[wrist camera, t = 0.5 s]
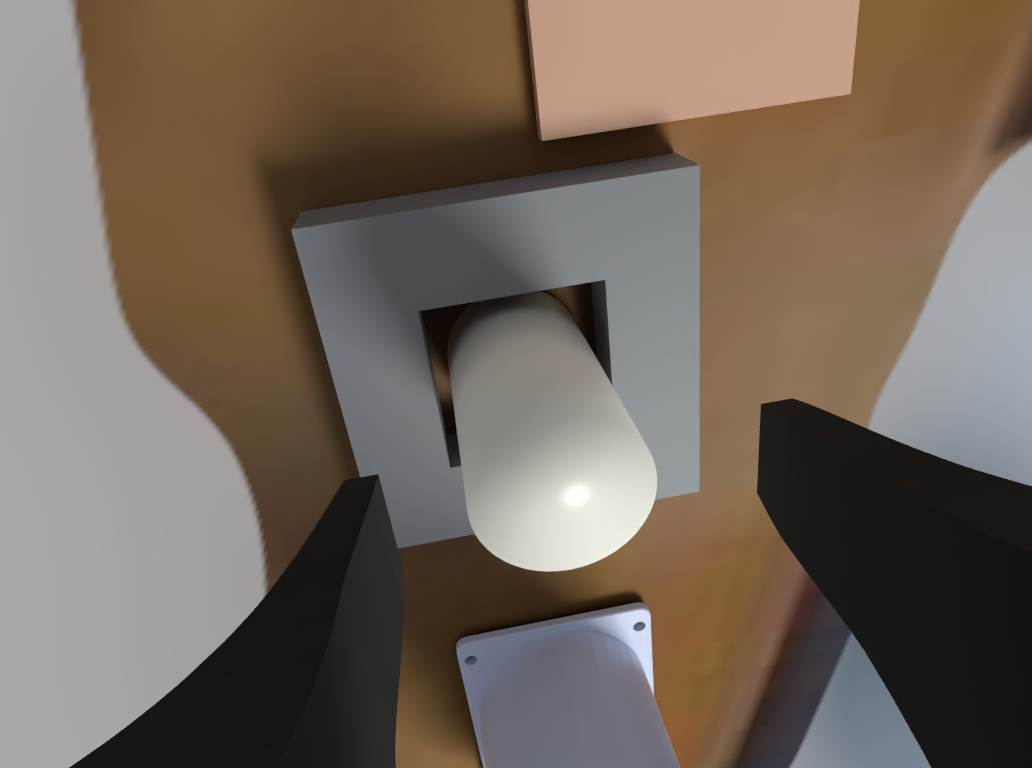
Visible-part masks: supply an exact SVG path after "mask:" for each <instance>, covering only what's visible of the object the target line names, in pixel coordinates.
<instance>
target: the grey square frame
mask: <svg viewBox="0 0 1032 768" xmlns="http://www.w3.org/2000/svg"><path fill="white" fill-rule="evenodd" d="M291 231H292V235H293V238H294V242H295V246H296V249H297V253H298V256H299V260H300V263H301V267H302V271H303V274H304V278H305V281H306V285H307V289H308V292H309V296H310V299H311V303H312V306H313V310H314V314H315V317H316V321H317V324H318V328H319V331H320V335H321V339H322V342H323V346H324V349H325V353H326V356H327V360H328V364H329V367H330V371H331V374H332V378H333V382H334V385H335V389H336V392H337V396H338V399H339V403H340V407H341V410H342V414H343V417H344V421H345V424H346V428H347V432H348V435H349V439H350V442H351V446H352V449H353V453H354V457H355V460H356V464H357V467H358V471H359V475H360V477H365V476H371V475H376V474H378V475H379V479H380V482H381V486H382V490H383V494H384V498H385V501H386V505H387V509H388V513H389V517H390V521H391V524H392V528H393V532H394V536H395V540H396V543H397V547H398V549H399V548H404V547H410V546H415V545H420V544H425V543H431V542H436V541H441V540H446V539H452V538H457V537H462V536H467V535H473V534H475V533H474V531H473V529H472V527H471V525H470V521H469V518H468V513H467V506H466V498H465V490H464V482H463V475H462V467H461V459H460V452H459V444H458V436H457V434H452V435H447V434H446V429H445V424H444V419H443V414H442V409H441V404H440V399H439V394H438V389H437V384H436V379H435V374H434V369H433V364H432V359H431V354H430V349H429V344H428V339H427V334H426V329H425V324H424V319H423V314H422V311H423V310H428V309H434V308H440V307H446V306H452V305H458V304H464V303H470V302H476V301H482V300H488V299H494V298H500V297H506V296H512V295H518V294H524V293H530V292H536V291H542V290H548V289H554V288H560V287H566V286H572V285H578V284H583V283H589V282H591V290H592V303H593V316H594V330H595V343H596V356H597V360H598V362H599V363H600V365H601V367H602V369H603V370H604V372H605V374H606V376H607V377H608V379H609V381H610V383H611V384H612V386H613V388H614V390H615V391H616V393H617V395H618V397H619V398H620V400H621V402H622V404H623V405H624V407H625V409H626V411H627V412H628V414H629V416H630V417H631V419H632V421H633V423H634V424H635V426H636V428H637V430H638V431H639V433H640V435H641V437H642V438H643V440H644V442H645V444H646V445H647V447H648V449H649V451H650V453H651V455H652V457H653V459H654V463H655V467H656V472H657V491H656V496H655V500H656V499H662V498H667V497H672V496H677V495H683V494H688V493H693V492H699V393H700V165H699V164H697V163H695V162H693V161H690V160H688V159H686V158H684V157H682V156H680V155H678V154H676V153H671V154H664V155H658V156H652V157H645V158H639V159H632V160H626V161H620V162H613V163H607V164H600V165H594V166H588V167H581V168H575V169H569V170H562V171H556V172H549V173H543V174H537V175H530V176H524V177H517V178H511V179H505V180H498V181H492V182H485V183H479V184H473V185H466V186H460V187H453V188H447V189H441V190H434V191H428V192H421V193H415V194H409V195H402V196H396V197H389V198H383V199H377V200H370V201H364V202H357V203H351V204H345V205H338V206H332V207H325V208H319V209H313V210H306V211H301V212H300V214H299V216H298V218H297V220H296V221H295V223H294V225H293V227H292V229H291Z"/></svg>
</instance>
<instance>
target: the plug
mask: <svg viewBox="0 0 1032 768" xmlns="http://www.w3.org/2000/svg"><path fill="white" fill-rule="evenodd" d="M447 358H448V366H449V374H450V382H451V390H452V397H453V405H454V413H455V421H456V428H457V436H458V444H459V452H460V459H461V467H462V475H463V482H464V490H465V498H466V506H467V513H468V518H469V521H470V525H471V527H472V529H473V531H474V533H475V535H476V536H477V538H478V539H479V541H480V542H481V543H482V544H483V545H484V546H485V547H486V548H487V550H489V551H490V552H491V553H492V554H494V555H495V556H496V557H498V558H500V559H502V560H503V561H505V562H507V563H510V564H512V565H514V566H517V567H521V568H524V569H529V570H535V571H563V570H570V569H575V568H579V567H583V566H586V565H589V564H591V563H594V562H596V561H599V560H601V559H603V558H605V557H607V556H608V555H610V554H612V553H613V552H615V551H616V550H618V549H619V548H620V547H622V546H623V545H624V544H626V543H627V542H628V541H629V540H630V539H631V538H632V537H633V536H634V535H635V534H636V532H637V531H638V530H639V529H640V528H641V526H642V525H643V523H644V522H645V520H646V519H647V517H648V515H649V513H650V511H651V509H652V506H653V503H654V500H655V496H656V491H657V472H656V467H655V463H654V459H653V457H652V455H651V453H650V451H649V449H648V447H647V445H646V444H645V442H644V440H643V438H642V437H641V435H640V433H639V431H638V430H637V428H636V426H635V424H634V423H633V421H632V419H631V417H630V416H629V414H628V412H627V411H626V409H625V407H624V405H623V404H622V402H621V400H620V398H619V397H618V395H617V393H616V391H615V390H614V388H613V386H612V384H611V383H610V381H609V379H608V377H607V376H606V374H605V372H604V370H603V369H602V367H601V365H600V363H599V362H598V360H597V358H596V356H595V355H594V353H593V351H592V349H591V348H590V346H589V344H588V342H587V341H586V339H585V337H584V335H583V334H582V332H581V330H580V328H579V327H578V325H577V323H576V321H575V320H574V318H573V316H572V315H571V313H570V312H569V310H568V309H567V308H566V307H565V306H564V305H563V304H562V303H561V302H560V301H558V300H557V299H556V298H554V297H553V296H551V295H549V294H547V293H545V292H542V291H536V292H530V293H524V294H518V295H512V296H506V297H500V298H494V299H488V300H482V301H476V302H473V303H471V304H470V305H469V306H468V307H467V308H466V309H465V310H464V311H463V312H462V313H461V315H460V316H459V317H458V319H457V320H456V322H455V324H454V326H453V328H452V330H451V333H450V336H449V340H448V345H447Z"/></svg>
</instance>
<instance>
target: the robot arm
mask: <svg viewBox="0 0 1032 768" xmlns="http://www.w3.org/2000/svg"><path fill="white" fill-rule="evenodd" d="M757 493H758V495H759V497H760V499H761V501H762V503H763V505H764V507H765V509H766V511H767V513H768V515H769V516H770V518H771V520H772V522H773V524H774V525H775V527H776V529H777V531H778V532H779V534H780V536H781V537H782V539H783V540H784V542H785V543H786V544H787V546H788V547H789V549H790V550H791V551H792V553H793V554H794V555H795V557H796V558H797V559H798V561H799V562H800V564H801V565H802V566H803V568H804V569H805V570H806V572H807V573H808V574H809V576H810V577H811V578H812V580H813V581H814V582H815V584H816V585H817V586H818V588H819V589H820V590H821V592H822V593H823V594H824V596H825V597H826V598H827V600H828V601H829V602H830V604H831V605H832V606H833V608H834V609H835V610H836V612H837V613H838V614H839V616H840V617H841V618H842V620H843V621H844V622H845V624H846V625H847V626H848V628H849V629H850V630H851V632H852V633H853V635H854V636H855V638H856V639H857V640H858V642H859V643H860V645H861V646H862V648H863V649H864V651H865V652H866V654H867V656H868V657H869V659H870V661H871V662H872V664H873V666H874V667H875V669H876V670H877V672H878V674H879V676H880V677H881V679H882V681H883V682H884V684H885V686H886V687H887V689H888V691H889V692H890V694H891V696H892V698H893V699H894V701H895V703H896V705H897V706H898V708H899V710H900V712H901V713H902V715H903V717H904V719H905V721H906V722H907V724H908V726H909V728H910V729H911V731H912V733H913V735H914V737H915V738H916V740H917V742H918V744H919V745H920V747H921V749H922V751H923V753H924V755H925V756H926V758H927V760H928V762H929V764H930V766H931V768H1032V486H1029V485H1025V484H1021V483H1018V482H1014V481H1011V480H1008V479H1004V478H1001V477H997V476H994V475H991V474H987V473H984V472H980V471H977V470H974V469H971V468H968V467H965V466H962V465H959V464H956V463H953V462H951V461H948V460H945V459H942V458H939V457H937V456H934V455H931V454H929V453H926V452H923V451H920V450H918V449H915V448H912V447H910V446H908V445H905V444H903V443H900V442H898V441H895V440H893V439H890V438H888V437H886V436H883V435H881V434H878V433H876V432H873V431H871V430H869V429H867V428H864V427H862V426H860V425H857V424H855V423H853V422H850V421H848V420H846V419H843V418H841V417H839V416H836V415H834V414H832V413H829V412H827V411H824V410H822V409H820V408H817V407H815V406H812V405H810V404H807V403H804V402H802V401H799V400H796V399H787V400H781V401H776V402H770V403H765V404H761V417H760V439H759V462H758V484H757ZM403 615H404V604H403V584H402V568H401V559H400V555H399V551H398V547H397V543H396V540H395V536H394V532H393V528H392V524H391V521H390V517H389V513H388V509H387V505H386V501H385V498H384V494H383V490H382V486H381V482H380V479H379V475H378V474H376V475H371V476H365V477H360V478H355V479H349V480H345V481H344V482H343V483H342V485H341V486H340V487H339V489H338V491H337V492H336V494H335V496H334V497H333V499H332V501H331V502H330V504H329V505H328V507H327V509H326V510H325V512H324V514H323V515H322V517H321V518H320V520H319V522H318V523H317V525H316V526H315V528H314V529H313V531H312V532H311V534H310V535H309V537H308V538H307V540H306V541H305V543H304V544H303V546H302V547H301V549H300V550H299V552H298V553H297V555H296V556H295V558H294V559H293V560H292V562H291V563H290V565H289V566H288V567H287V569H286V570H285V571H284V573H283V574H282V575H281V576H280V578H279V579H278V580H277V582H276V583H275V584H274V586H273V587H272V588H271V590H270V591H269V592H268V594H267V595H266V596H265V597H264V599H263V600H262V601H261V602H260V603H259V605H258V606H257V607H256V608H255V609H254V611H253V612H252V613H251V614H250V615H249V616H248V617H247V618H246V619H245V620H244V621H243V623H242V624H241V625H240V626H239V627H238V628H237V629H236V630H235V631H234V632H233V633H232V634H231V635H230V637H228V639H226V640H225V642H224V643H222V644H221V645H220V647H218V648H217V649H216V650H215V651H214V652H213V653H212V654H211V655H210V656H209V657H208V658H207V659H205V661H203V662H202V663H201V664H200V665H199V666H198V667H197V668H196V669H195V670H194V671H193V672H192V673H191V674H190V675H188V676H187V677H186V678H185V679H184V680H183V681H182V682H181V683H180V684H179V685H177V686H176V687H175V688H174V689H173V690H172V691H170V692H169V693H168V694H167V695H166V696H164V697H163V698H162V699H161V700H160V701H158V702H157V703H156V704H155V705H154V706H152V707H151V708H150V709H149V710H147V711H146V712H145V713H143V714H142V715H141V716H140V717H138V718H137V719H136V720H135V721H133V722H132V723H131V724H130V725H128V726H127V727H126V728H124V729H123V730H122V731H120V732H119V733H118V734H116V735H115V736H114V737H112V738H111V739H110V740H108V741H107V742H106V743H104V744H103V745H101V746H100V747H98V748H97V749H95V750H94V751H93V752H91V753H90V754H88V755H87V756H85V757H84V758H82V759H81V760H80V761H78V762H77V763H75V764H74V765H73V766H71V767H70V768H396V765H395V736H396V715H397V701H398V687H399V673H400V660H401V646H402V631H403ZM638 622H640V623H638ZM636 623H638V624H636ZM456 652H457V657H458V662H459V666H460V670H461V674H462V679H463V683H464V687H465V691H466V696H467V700H468V704H469V709H470V713H471V717H472V721H473V726H474V730H475V734H476V739H477V743H478V747H479V751H480V756H481V760H482V764H483V768H680V766H679V763H678V760H677V758H676V755H675V752H674V750H673V747H672V744H671V741H670V739H669V736H668V733H667V731H666V728H665V725H664V722H663V720H662V717H661V714H660V712H659V709H658V706H657V704H656V701H655V698H654V685H653V662H652V639H651V616H650V612H649V609H648V607H647V605H645V604H644V603H641V602H640V603H632V604H627V605H622V606H617V607H612V608H607V609H602V610H597V611H592V612H587V613H582V614H577V615H572V616H567V617H562V618H557V619H552V620H547V621H542V622H537V623H532V624H527V625H522V626H517V627H512V628H507V629H502V630H497V631H492V632H487V633H482V634H477V635H472V636H467V637H464V638H462V639H460V640H459V641H458V642H457V644H456ZM469 656H474V657H469Z"/></svg>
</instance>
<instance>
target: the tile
mask: <svg viewBox="0 0 1032 768" xmlns="http://www.w3.org/2000/svg"><path fill="white" fill-rule="evenodd" d="M859 2H860V0H524V4H525V13H526V23H527V33H528V42H529V52H530V62H531V72H532V81H533V91H534V101H535V111H536V120H537V130H538V138H539V139H540V140H541V141H546V140H553V139H559V138H566V137H572V136H579V135H585V134H592V133H598V132H605V131H612V130H618V129H625V128H631V127H638V126H644V125H651V124H657V123H664V122H670V121H677V120H683V119H690V118H696V117H703V116H710V115H716V114H723V113H729V112H736V111H742V110H749V109H755V108H762V107H768V106H775V105H781V104H788V103H794V102H801V101H807V100H814V99H821V98H827V97H834V96H840V95H847V94H851V85H852V74H853V64H854V54H855V43H856V33H857V23H858V12H859Z"/></svg>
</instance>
